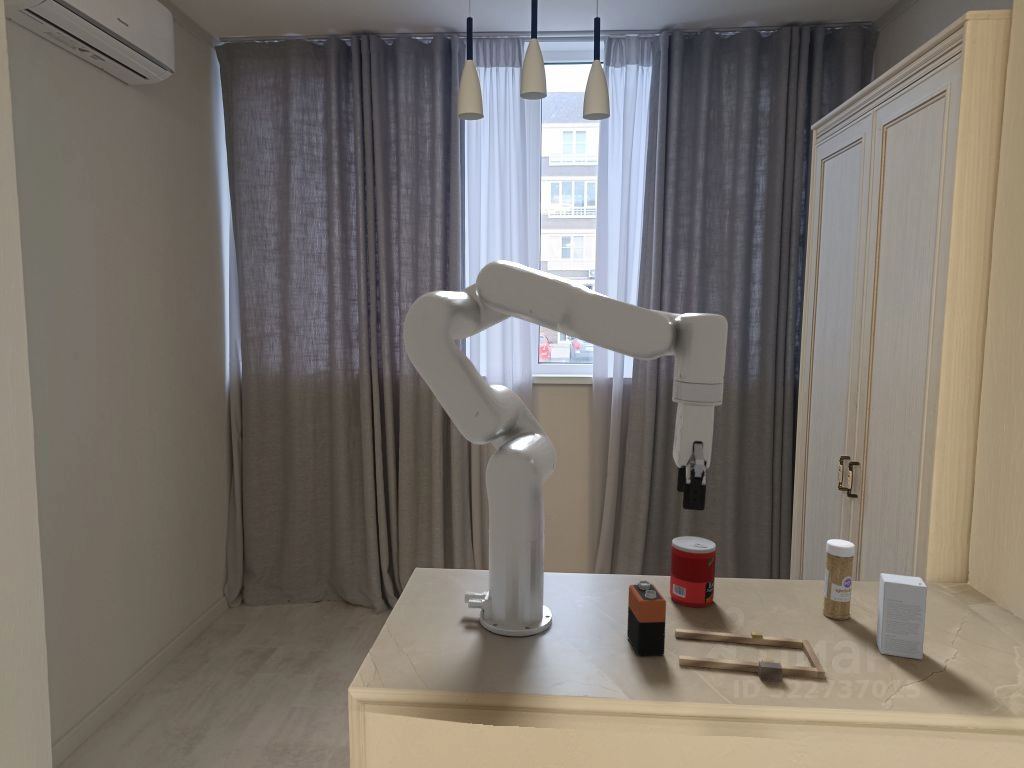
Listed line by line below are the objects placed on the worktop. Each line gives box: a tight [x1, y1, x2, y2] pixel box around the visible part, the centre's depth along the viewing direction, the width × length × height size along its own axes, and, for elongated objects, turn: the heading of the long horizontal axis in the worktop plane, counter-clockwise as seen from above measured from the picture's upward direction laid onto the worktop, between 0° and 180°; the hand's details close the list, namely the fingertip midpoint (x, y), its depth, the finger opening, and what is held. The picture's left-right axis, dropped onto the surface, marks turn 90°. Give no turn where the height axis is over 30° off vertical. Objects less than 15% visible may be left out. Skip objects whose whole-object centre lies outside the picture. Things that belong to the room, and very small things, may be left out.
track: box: [674, 628, 826, 682], centre depth 107 cm, size 21×12×2 cm, turn 80°
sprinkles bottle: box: [822, 538, 856, 621], centre depth 122 cm, size 5×5×13 cm
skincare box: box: [876, 572, 928, 660], centre depth 110 cm, size 6×4×12 cm
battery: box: [627, 579, 667, 657], centre depth 110 cm, size 4×7×10 cm, turn 6°
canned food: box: [669, 535, 717, 608], centre depth 128 cm, size 8×8×11 cm
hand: (689, 500), depth 109 cm, fingers open, 9 cm apart
